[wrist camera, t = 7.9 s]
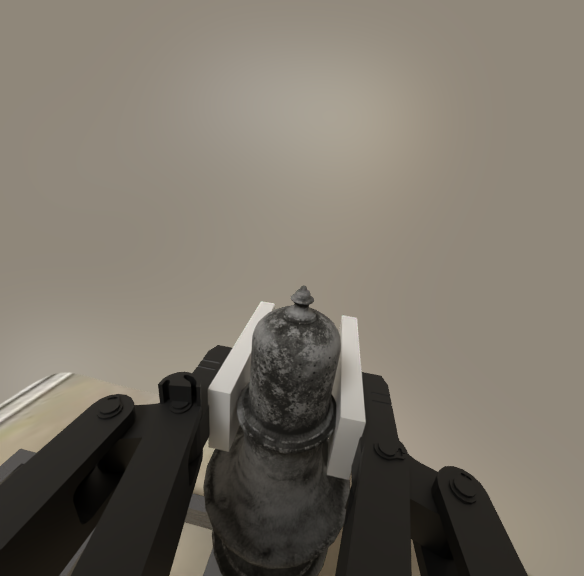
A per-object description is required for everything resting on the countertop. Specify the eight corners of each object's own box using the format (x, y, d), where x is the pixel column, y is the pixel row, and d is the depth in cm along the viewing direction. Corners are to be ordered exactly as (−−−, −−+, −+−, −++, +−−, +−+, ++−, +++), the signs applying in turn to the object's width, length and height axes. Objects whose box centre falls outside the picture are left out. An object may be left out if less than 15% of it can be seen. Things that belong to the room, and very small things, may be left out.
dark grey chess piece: (174, 543, 12) (146, 285, 7) (260, 442, 17) (278, 244, 12) (292, 666, 10) (371, 392, 5) (354, 507, 14) (426, 286, 9)
